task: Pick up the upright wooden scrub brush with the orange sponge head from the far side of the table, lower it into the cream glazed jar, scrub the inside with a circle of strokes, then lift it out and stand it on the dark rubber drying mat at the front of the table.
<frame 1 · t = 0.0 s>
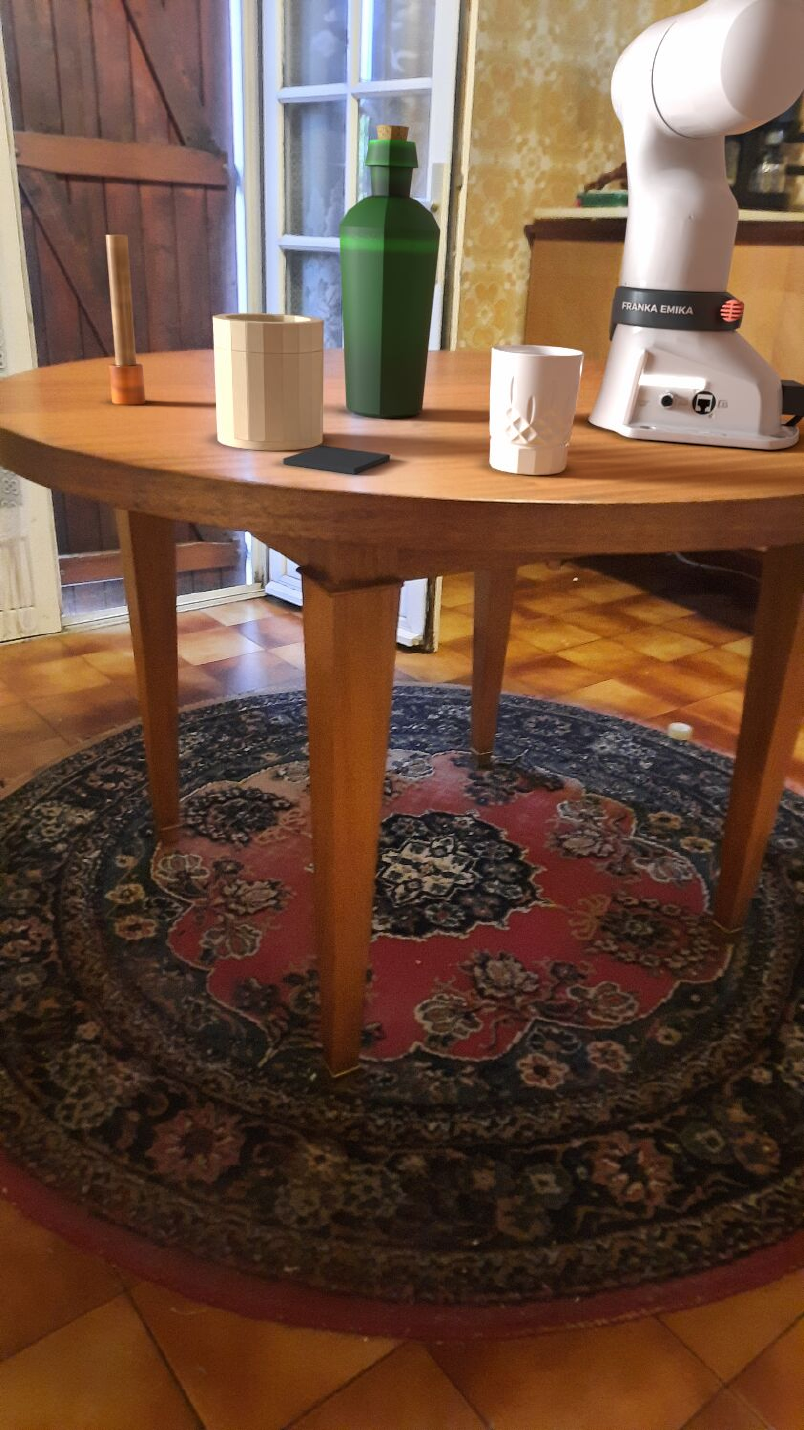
white cup: (526, 469, 91), on the table
bottle: (383, 414, 115), on the table
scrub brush: (128, 402, 114), on the table
drying mat: (337, 462, 90), on the table
jar: (270, 440, 98), on the table
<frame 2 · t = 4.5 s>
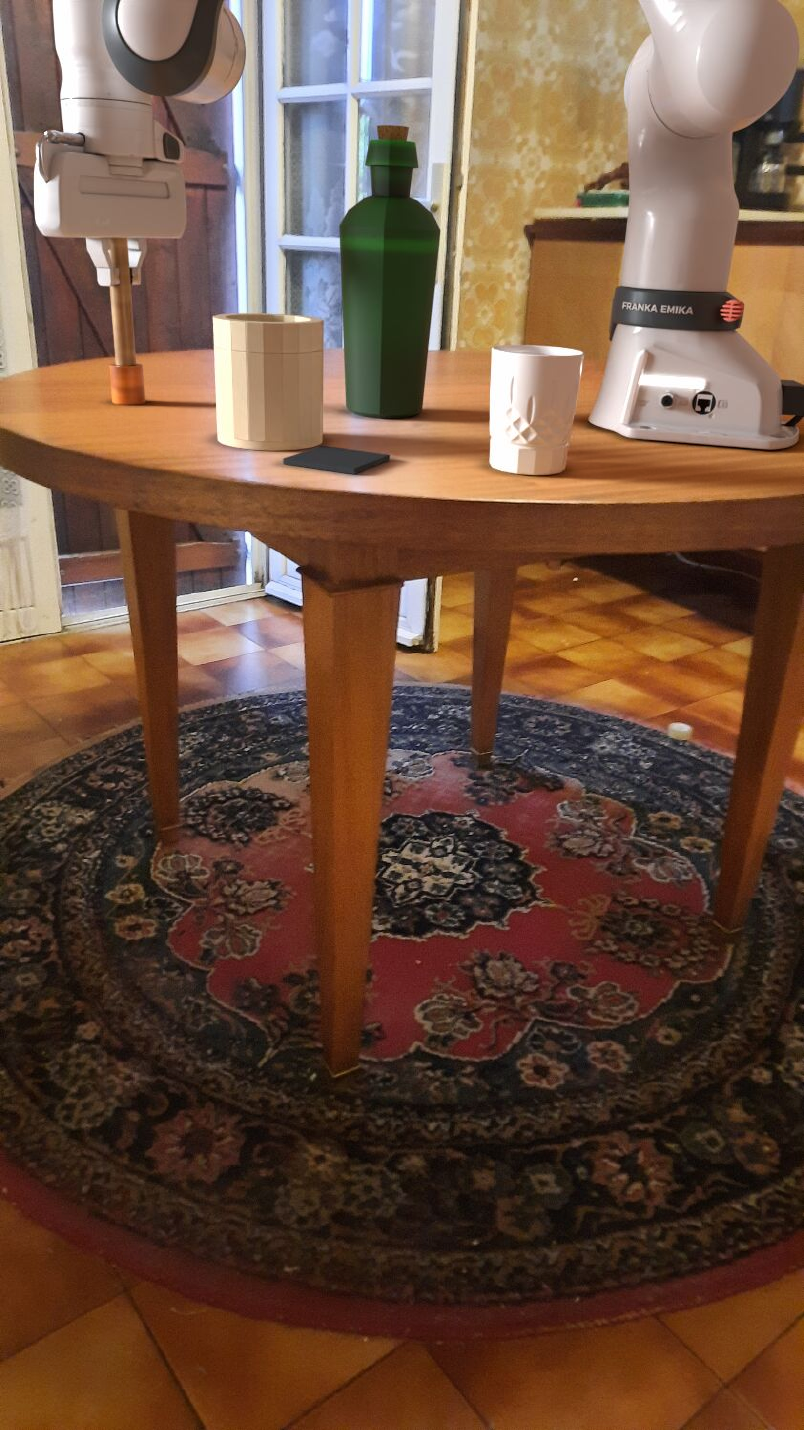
hand: (120, 285, 109), 12 cm above the table, tool pointing down, fingers closed on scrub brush, 2 cm apart
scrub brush: (128, 402, 114), on the table, touching gripper
everything else where it was.
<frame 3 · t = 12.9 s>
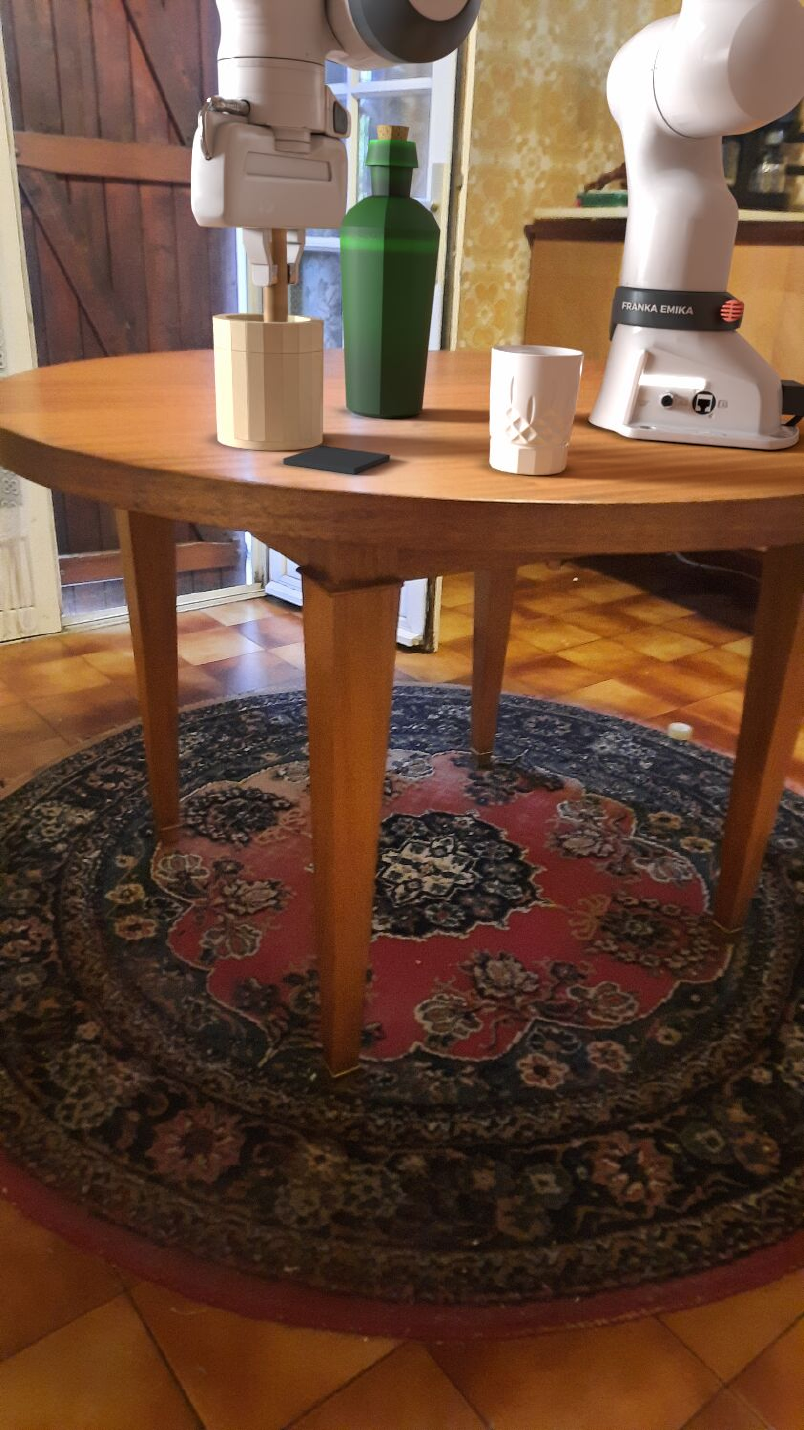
hand: (276, 285, 91), 14 cm above the table, tool pointing down, fingers closed on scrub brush, 2 cm apart
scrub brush: (277, 423, 96), point 2 cm above the table, touching gripper
everything else where it was.
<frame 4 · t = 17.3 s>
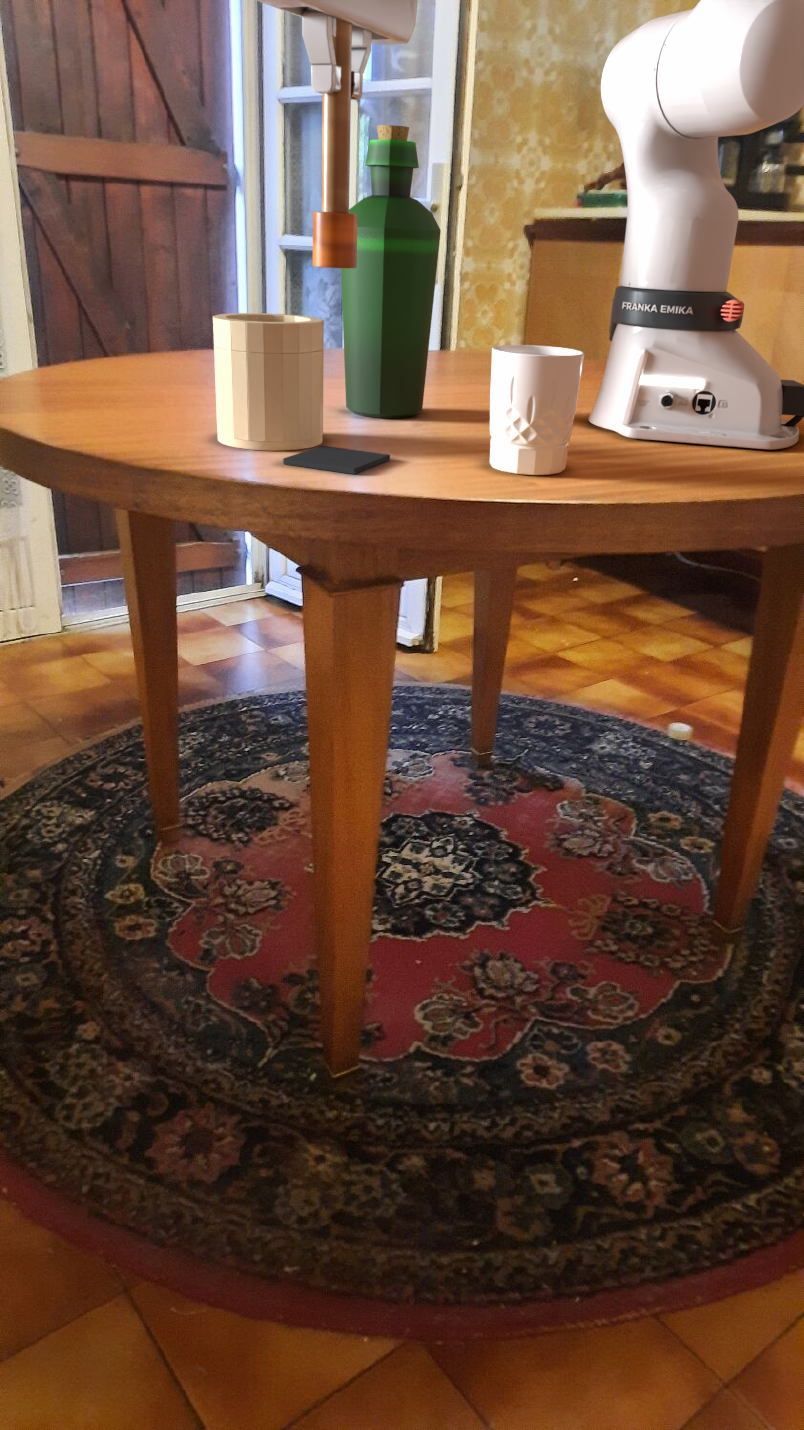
hand: (337, 96, 79), 28 cm above the table, tool pointing down, fingers closed on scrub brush, 2 cm apart
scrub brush: (334, 267, 84), point 16 cm above the table, touching gripper
everything else where it was.
when the fingers open (13 cm above the table, at t = 21.6 s): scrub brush stays where it is, resting on drying mat.
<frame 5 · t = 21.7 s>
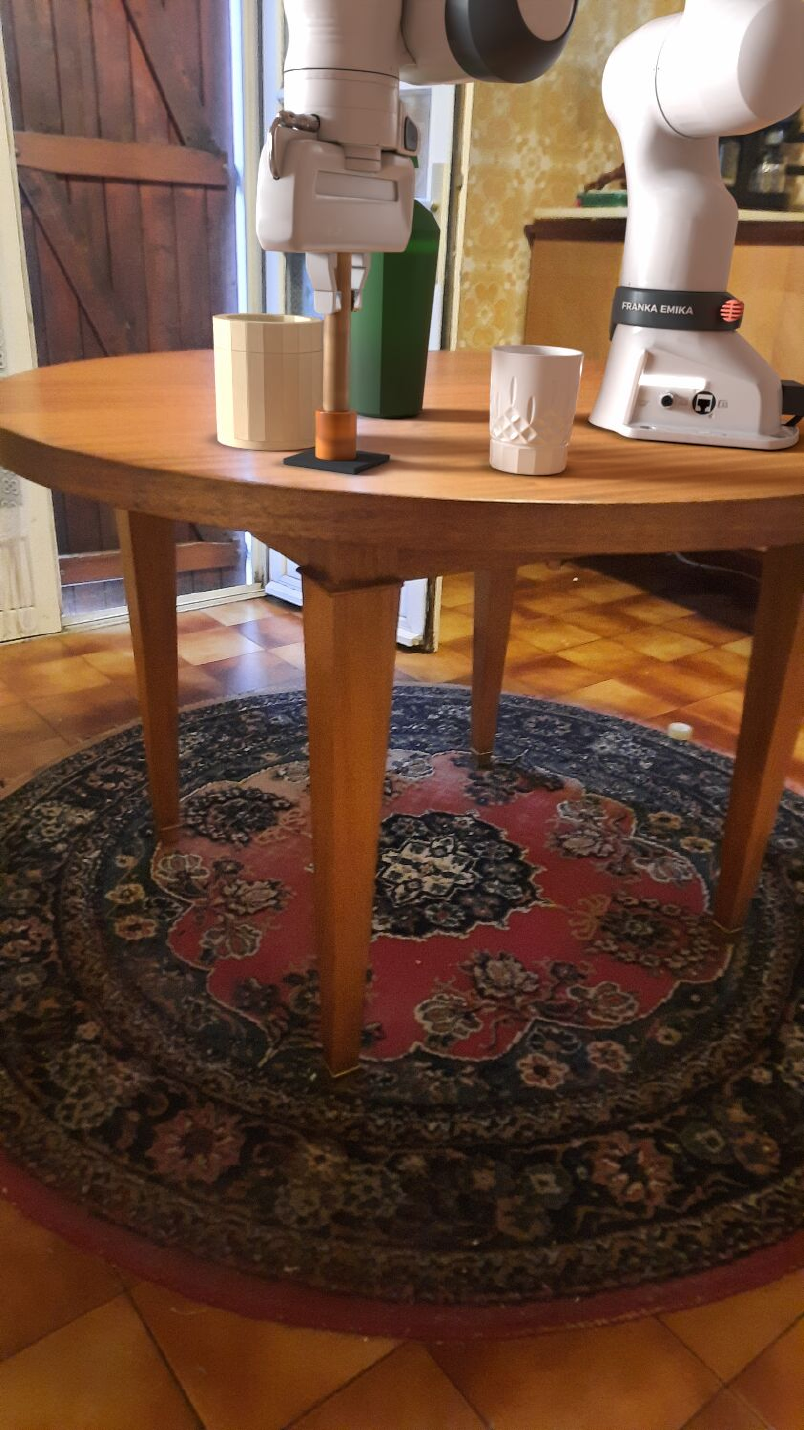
hand: (338, 312, 85), 12 cm above the table, tool pointing down
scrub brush: (335, 456, 90), point 1 cm above the table, touching drying mat
everything else where it was.
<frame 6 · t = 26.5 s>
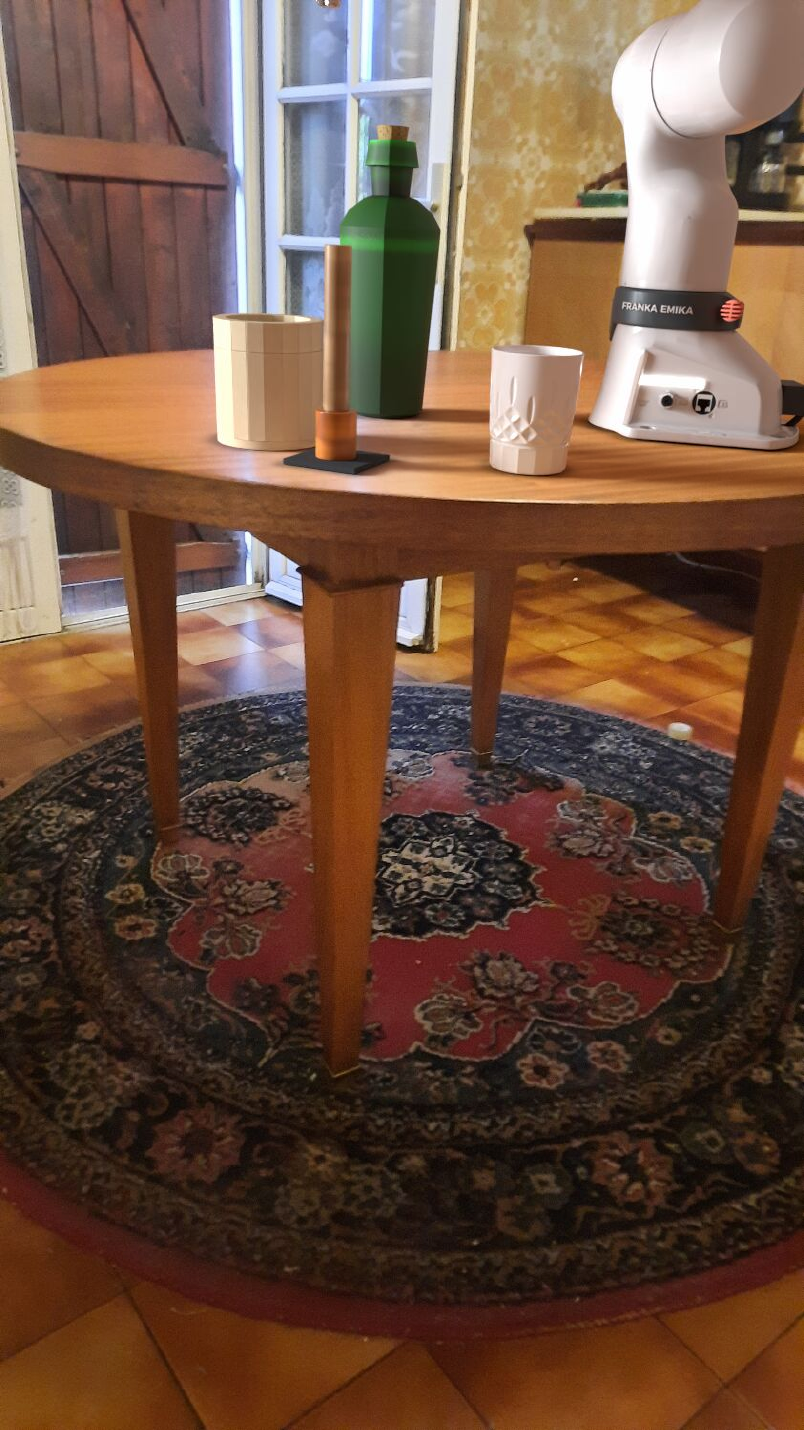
nothing on the table moved.
at the end: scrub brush 0.1 cm off-centre on the drying mat, point 0.5 cm above the drying mat's base; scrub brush tilted 0°; the gripper is holding nothing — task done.
